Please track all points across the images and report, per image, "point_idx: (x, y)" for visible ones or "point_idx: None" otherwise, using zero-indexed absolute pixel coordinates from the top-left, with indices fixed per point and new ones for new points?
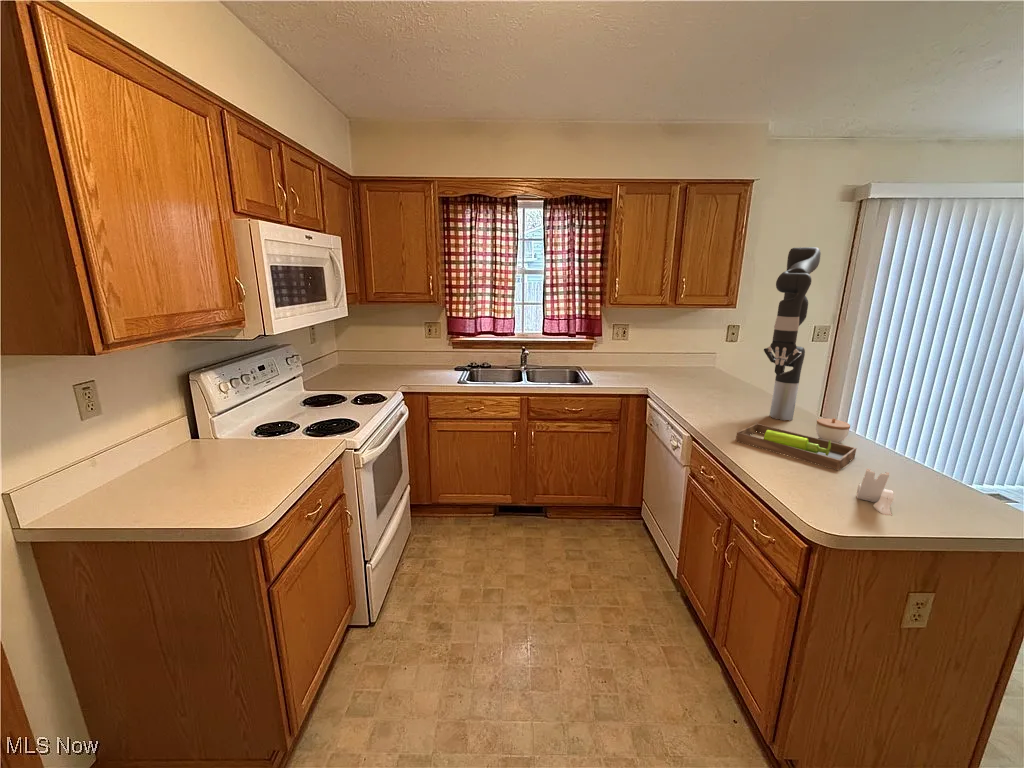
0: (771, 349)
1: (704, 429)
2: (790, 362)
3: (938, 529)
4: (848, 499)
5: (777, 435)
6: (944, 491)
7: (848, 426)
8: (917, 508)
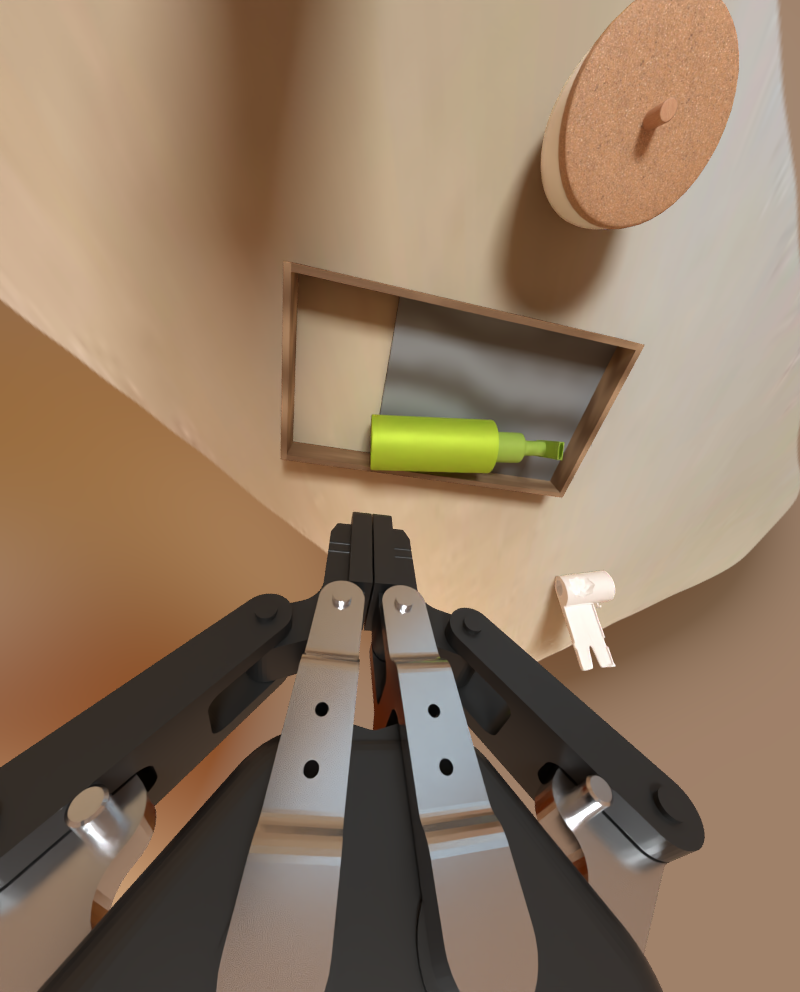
0: (110, 873)
1: (147, 398)
2: (481, 686)
3: (635, 605)
4: (540, 595)
5: (409, 469)
6: (742, 455)
7: (706, 162)
8: (639, 563)
